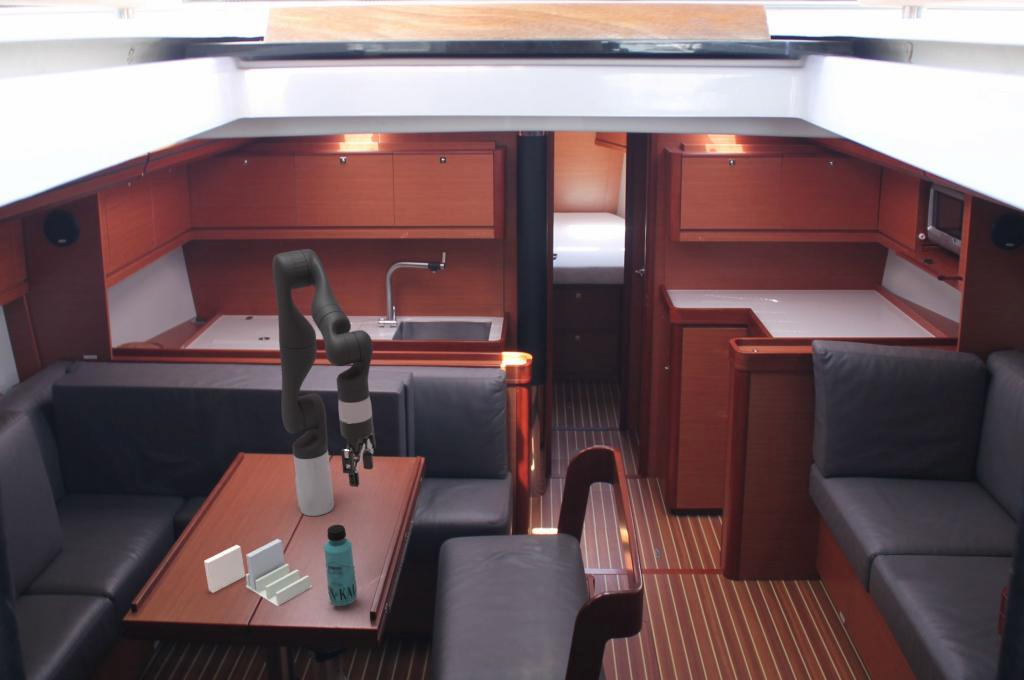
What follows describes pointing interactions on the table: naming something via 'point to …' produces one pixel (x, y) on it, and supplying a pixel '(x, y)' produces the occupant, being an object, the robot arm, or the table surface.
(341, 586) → the beverage bottle
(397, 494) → the table surface
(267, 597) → the rack
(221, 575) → the plate
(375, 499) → the table surface
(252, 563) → the plate
